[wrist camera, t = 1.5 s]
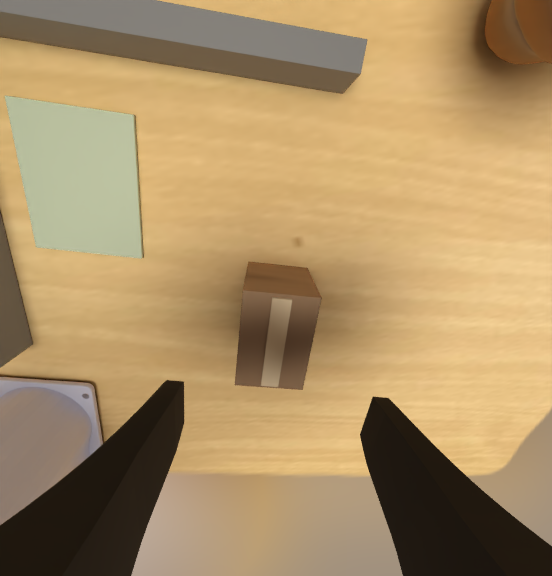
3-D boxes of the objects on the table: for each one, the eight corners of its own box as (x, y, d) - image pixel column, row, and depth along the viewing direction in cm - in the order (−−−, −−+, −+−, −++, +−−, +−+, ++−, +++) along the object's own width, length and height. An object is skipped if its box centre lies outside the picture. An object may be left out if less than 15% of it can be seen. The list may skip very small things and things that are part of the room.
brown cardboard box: (294, 342, 21) (302, 391, 16) (241, 337, 20) (234, 386, 16) (307, 267, 18) (322, 299, 14) (248, 261, 18) (242, 291, 13)
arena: (292, 365, 21) (297, 392, 19) (15, 342, 20) (-27, 370, 17) (347, 66, 14) (367, 39, 11) (-82, -9, 12) (-180, -62, 10)
